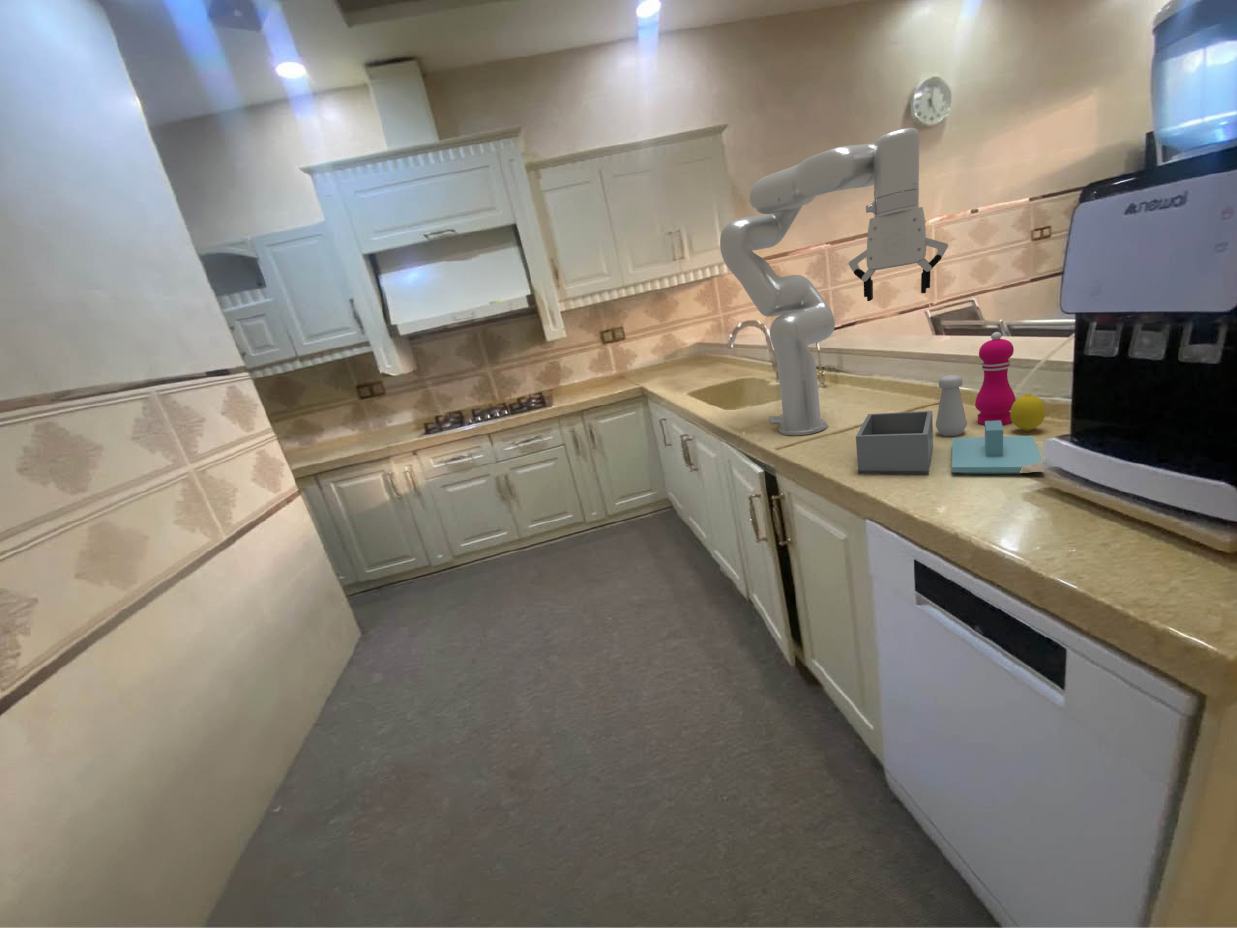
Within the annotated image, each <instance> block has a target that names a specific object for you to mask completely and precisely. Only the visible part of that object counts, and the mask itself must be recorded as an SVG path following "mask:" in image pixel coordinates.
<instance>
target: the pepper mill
mask: <svg viewBox="0 0 1237 928" xmlns="http://www.w3.org/2000/svg"><path fill="white" fill-rule="evenodd" d="M990 338H991V340H988V341H986V342H984V343H983V344H982V345H981V346H980V348H979V351H978V357H979V359H980V360H982V362H981V370H982V371H983V381H982V385H981V387H980V389H979V391H978V393H977V394H976V398H975V403H974V405H975V406H974V407H975V409H976V410H978V412H979V413H978V414H977V423H978V424H980V425H981V426H982V425H983V426H985V421H999V420H1001V423H1002V426H1003V425H1008V424H1010V423H1012V420H1011V417H1010V411H1011V407H1012V405H1013V403H1014V402H1015V401H1016V400H1017V398H1016V394H1015V392H1014V391H1013V389H1012V388H1011V385H1010V383H1009V377H1008V370H1009V368H1011V364H1010V363H1011V361H1010V360H1009V359H1010V358H1011V357H1012V356H1013V355H1014V352H1015V348H1014V345H1013V343H1012V342H1011V341H1009V340H1007V339H1005V338H1002V333H1001V332H1000V331H995V332H993V333H992V334H991V335H990Z"/></svg>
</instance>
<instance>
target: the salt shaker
mask: <svg viewBox="0 0 1237 928" xmlns="http://www.w3.org/2000/svg"><path fill="white" fill-rule="evenodd" d="M962 386H963V377H962V376H960V375H955V374H950V375H945V376H942V377H940V378H939V379H938V387H939V388H940V389H941V393H940V398H939V404H938V409H937V414H936V420H935V428H936V429H937V431H938V433H939V435H940V436H943V437H959V436H961V435H962V434H963V433H964V432H965V429H966V428H967V424H968V421H967V418H966V412H965V409H964V404H963V399H962V396H961V390H960V387H962Z"/></svg>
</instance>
